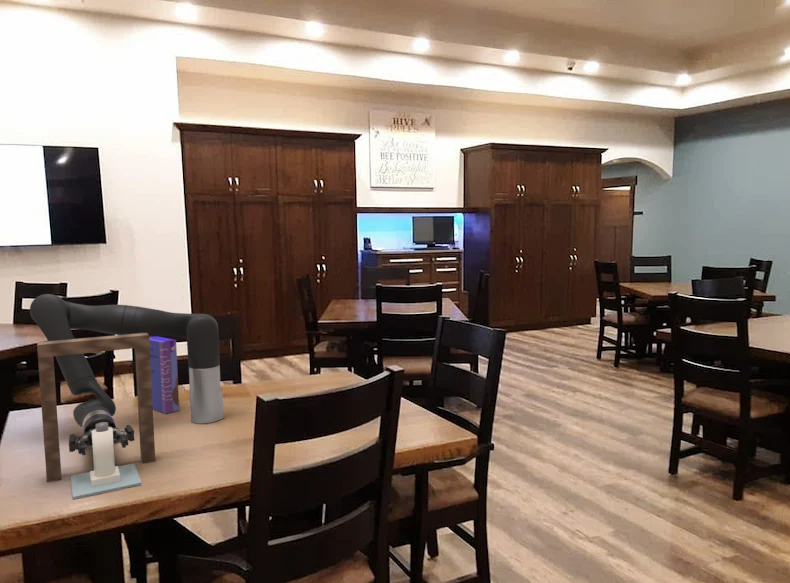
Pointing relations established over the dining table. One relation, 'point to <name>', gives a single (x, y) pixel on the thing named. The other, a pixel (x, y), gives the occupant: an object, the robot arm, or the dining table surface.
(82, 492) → the mat
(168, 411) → the cereal box
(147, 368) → the archway
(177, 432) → the dining table surface
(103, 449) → the white tall cylinder
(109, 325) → the robot arm
